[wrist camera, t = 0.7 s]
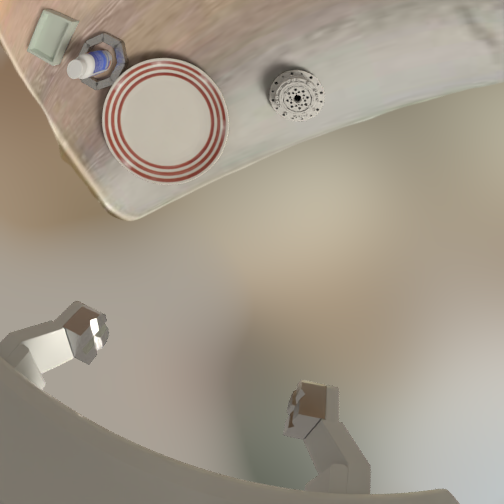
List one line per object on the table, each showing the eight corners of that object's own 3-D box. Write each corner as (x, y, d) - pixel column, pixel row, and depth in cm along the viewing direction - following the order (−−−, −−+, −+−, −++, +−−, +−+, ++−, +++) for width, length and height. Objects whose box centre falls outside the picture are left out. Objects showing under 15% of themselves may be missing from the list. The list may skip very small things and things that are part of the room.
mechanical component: (264, 74, 45) (276, 123, 51) (261, 77, 42) (275, 129, 48) (318, 66, 43) (328, 115, 49) (320, 67, 40) (331, 121, 46)
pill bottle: (104, 44, 41) (76, 49, 34) (117, 61, 44) (89, 68, 37) (88, 61, 44) (59, 69, 36) (100, 77, 47) (72, 87, 39)
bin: (50, 9, 33) (43, 9, 31) (79, 21, 37) (72, 22, 35) (33, 49, 40) (26, 51, 38) (60, 63, 43) (53, 65, 42)
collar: (95, 26, 38) (92, 27, 38) (136, 48, 42) (134, 48, 42) (73, 73, 45) (70, 74, 45) (110, 96, 49) (107, 97, 49)
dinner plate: (193, 32, 41) (187, 32, 38) (254, 151, 56) (252, 157, 53) (90, 100, 50) (82, 104, 48) (148, 194, 66) (143, 202, 63)
